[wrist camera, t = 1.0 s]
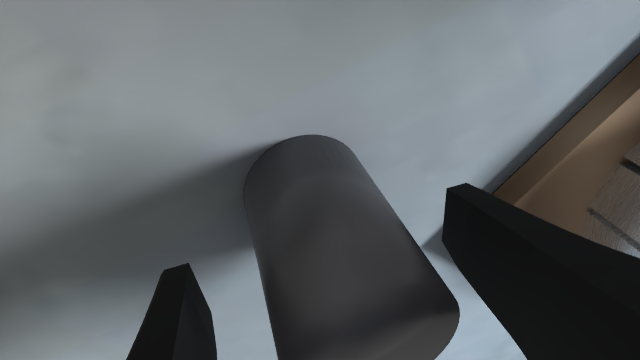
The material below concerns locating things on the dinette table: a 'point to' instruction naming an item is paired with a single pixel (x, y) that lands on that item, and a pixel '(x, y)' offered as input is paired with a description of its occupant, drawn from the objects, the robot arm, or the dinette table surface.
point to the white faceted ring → (618, 208)
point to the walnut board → (579, 156)
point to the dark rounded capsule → (340, 260)
